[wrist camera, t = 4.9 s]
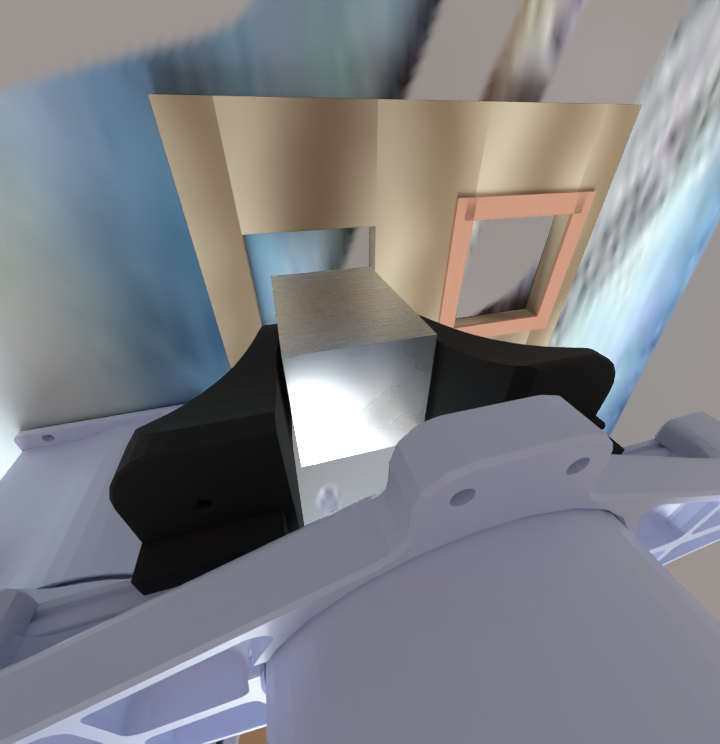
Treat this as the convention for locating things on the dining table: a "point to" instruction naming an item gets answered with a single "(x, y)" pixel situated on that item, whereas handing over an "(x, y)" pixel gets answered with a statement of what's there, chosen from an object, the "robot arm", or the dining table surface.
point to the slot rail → (390, 191)
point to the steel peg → (351, 361)
